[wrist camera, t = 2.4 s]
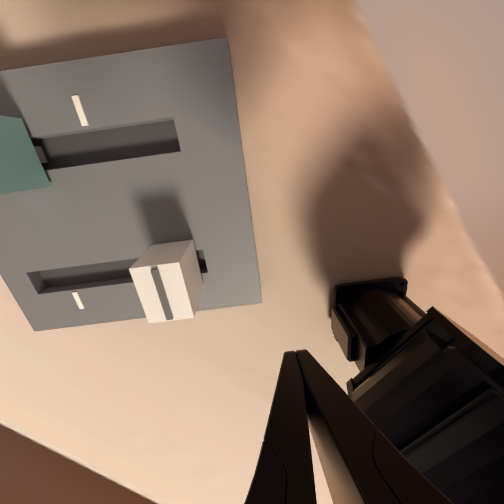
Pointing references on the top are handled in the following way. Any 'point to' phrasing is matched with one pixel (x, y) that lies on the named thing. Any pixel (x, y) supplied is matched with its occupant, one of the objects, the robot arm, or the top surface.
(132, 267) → the fader
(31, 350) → the top surface
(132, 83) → the console
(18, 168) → the fader
